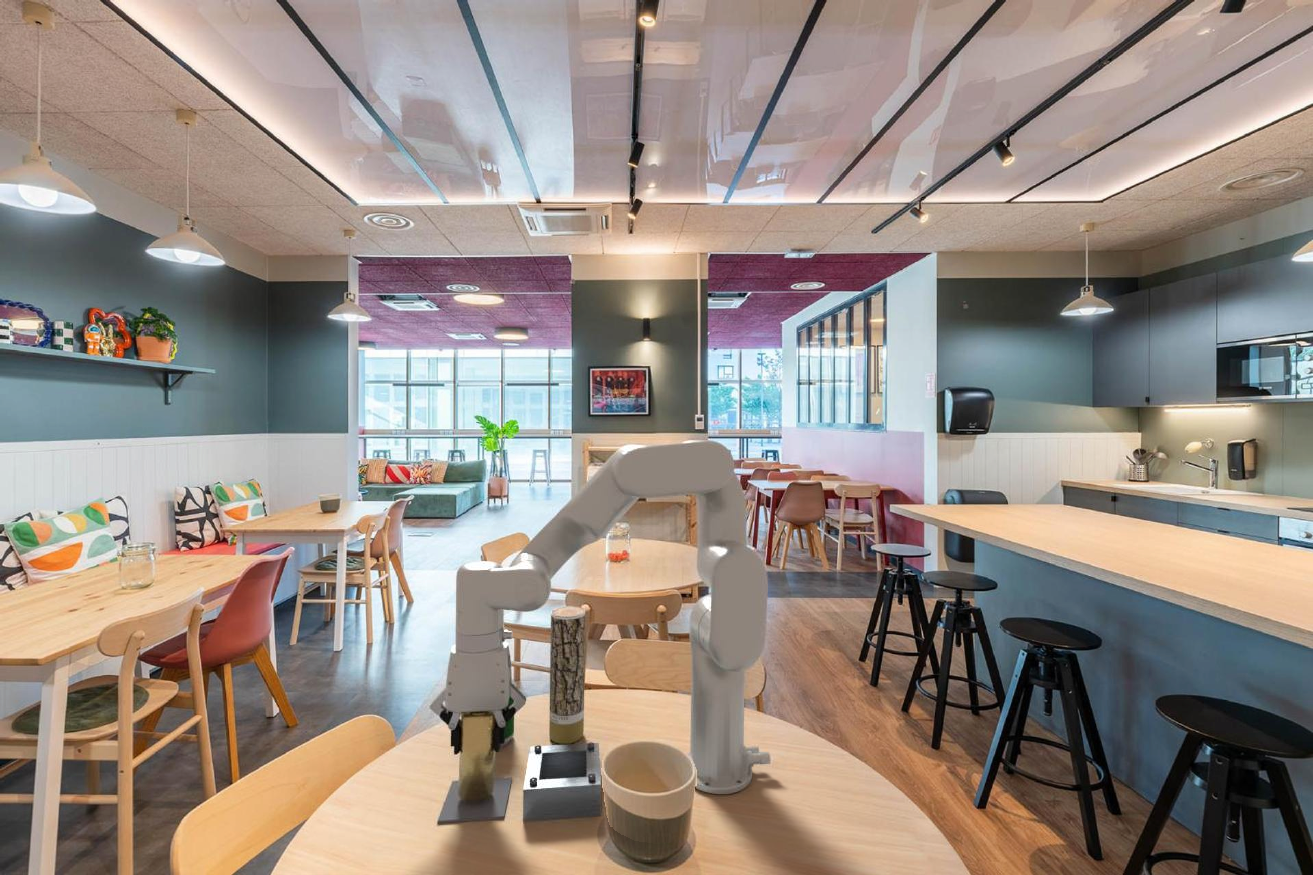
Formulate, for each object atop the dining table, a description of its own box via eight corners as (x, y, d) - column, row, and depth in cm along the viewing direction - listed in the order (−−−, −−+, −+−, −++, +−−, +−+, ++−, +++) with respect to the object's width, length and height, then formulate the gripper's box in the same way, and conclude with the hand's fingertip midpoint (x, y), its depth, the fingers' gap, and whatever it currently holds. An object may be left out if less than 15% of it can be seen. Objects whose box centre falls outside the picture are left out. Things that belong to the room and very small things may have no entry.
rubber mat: (512, 779, 97) (512, 777, 97) (504, 818, 87) (504, 815, 87) (452, 783, 96) (452, 780, 96) (437, 823, 86) (437, 820, 86)
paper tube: (576, 747, 107) (578, 618, 107) (543, 743, 109) (545, 615, 108) (588, 729, 114) (590, 607, 114) (556, 725, 115) (558, 605, 115)
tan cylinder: (496, 779, 95) (499, 700, 95) (490, 800, 89) (494, 717, 89) (462, 780, 94) (465, 701, 94) (454, 802, 88) (458, 718, 88)
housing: (598, 770, 100) (598, 739, 100) (600, 815, 88) (600, 780, 88) (530, 774, 99) (530, 743, 99) (522, 821, 87) (523, 785, 87)
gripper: (535, 629, 96) (533, 733, 96) (431, 632, 94) (429, 739, 94) (531, 645, 89) (529, 758, 89) (418, 649, 87) (416, 765, 87)
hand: (478, 747), depth 92 cm, fingers closed on tan cylinder, 5 cm apart
